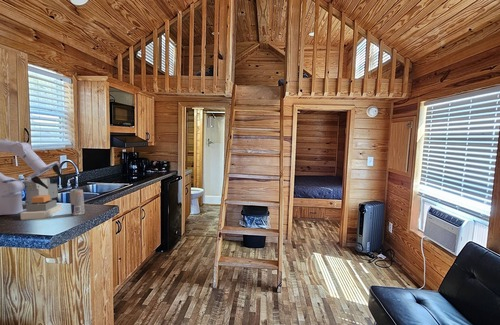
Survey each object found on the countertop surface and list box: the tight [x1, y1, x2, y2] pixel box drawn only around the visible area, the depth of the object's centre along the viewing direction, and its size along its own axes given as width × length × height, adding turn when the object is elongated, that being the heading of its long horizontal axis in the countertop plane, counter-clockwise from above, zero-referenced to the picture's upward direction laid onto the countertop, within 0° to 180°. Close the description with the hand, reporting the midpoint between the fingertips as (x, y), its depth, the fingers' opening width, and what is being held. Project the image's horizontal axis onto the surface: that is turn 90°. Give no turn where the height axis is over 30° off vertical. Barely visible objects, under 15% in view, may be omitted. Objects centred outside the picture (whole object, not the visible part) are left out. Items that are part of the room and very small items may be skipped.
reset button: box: [32, 195, 50, 203], centre depth 126 cm, size 5×5×2 cm
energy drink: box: [69, 188, 86, 217], centre depth 127 cm, size 5×5×12 cm
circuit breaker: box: [22, 177, 59, 207], centre depth 143 cm, size 8×14×15 cm, turn 174°
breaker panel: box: [19, 199, 63, 221], centre depth 127 cm, size 10×14×6 cm
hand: (55, 183), depth 131 cm, fingers open, 7 cm apart
